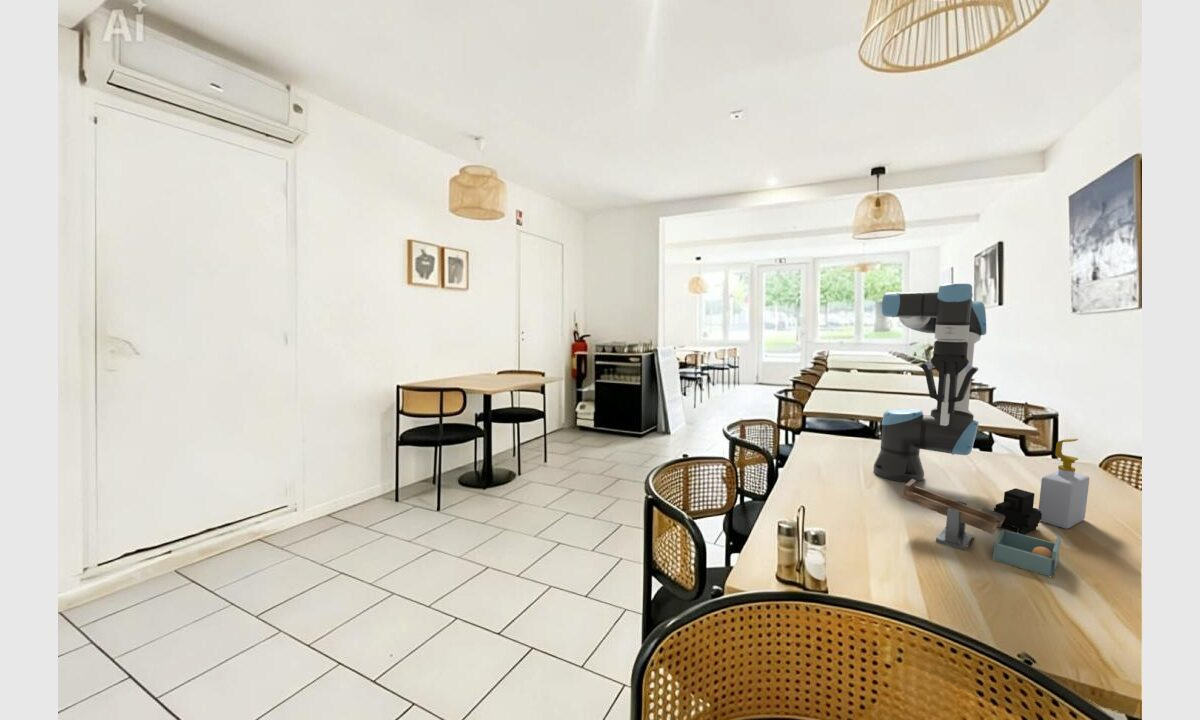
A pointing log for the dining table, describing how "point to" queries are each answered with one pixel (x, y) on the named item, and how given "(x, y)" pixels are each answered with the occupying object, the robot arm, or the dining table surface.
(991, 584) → the dining table surface
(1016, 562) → the tray
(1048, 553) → the ball
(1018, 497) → the toy
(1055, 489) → the soap bottle
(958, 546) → the stand
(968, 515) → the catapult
